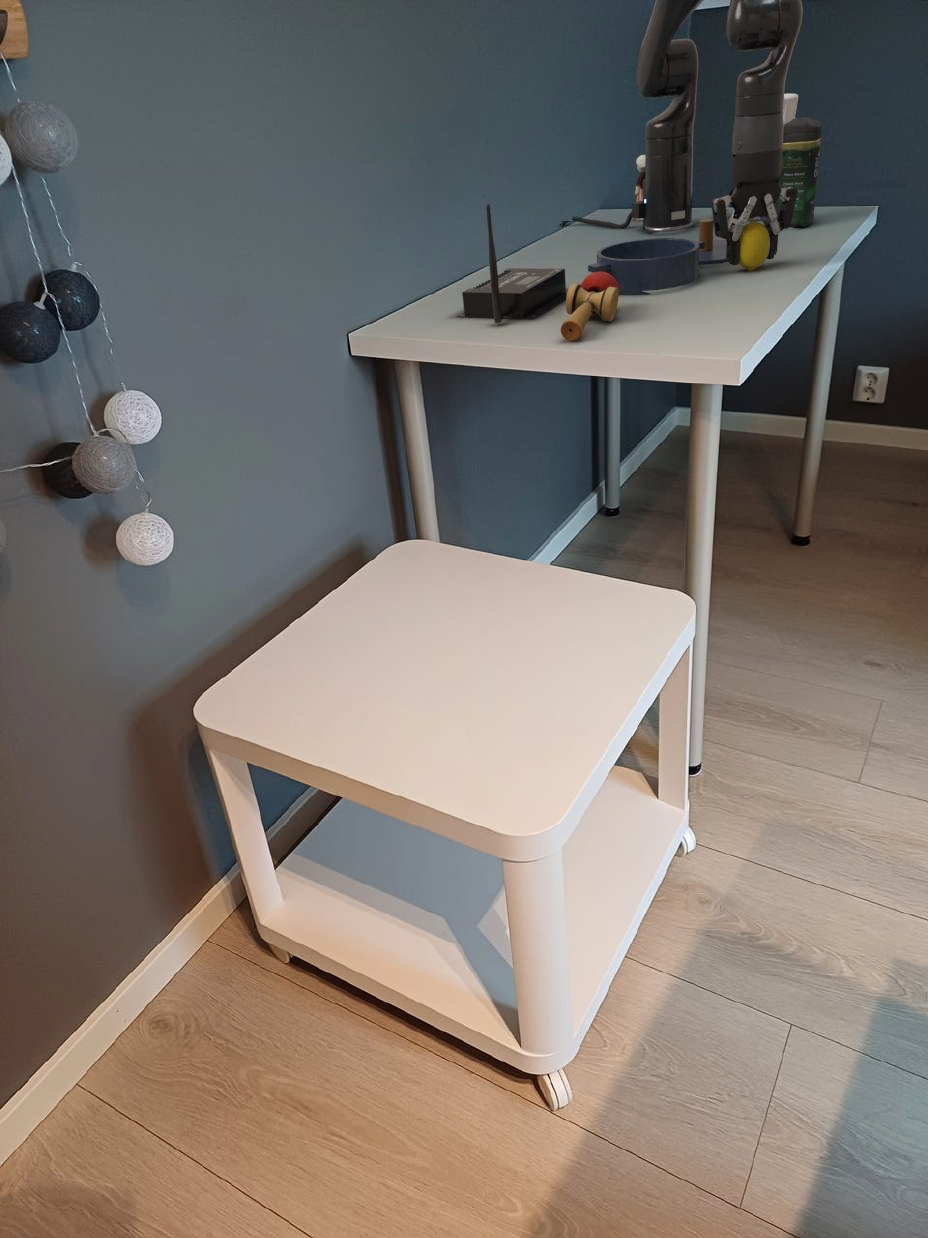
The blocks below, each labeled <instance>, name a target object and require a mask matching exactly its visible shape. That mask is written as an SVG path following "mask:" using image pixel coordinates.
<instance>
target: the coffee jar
mask: <svg viewBox="0 0 928 1238" xmlns="http://www.w3.org/2000/svg"><path fill="white" fill-rule="evenodd" d="M822 126H823V124H822V123H821V121H819V120H817V119H815V117H811V116H810V117H809V116H808V117H807V116H806V117H805V116H803V117H795V119H792V120H791V121H790V122H788V123H786V124H784V133H783V148H782V164H781V176H780V178H779V183H780V186H781V188H785V187H792V188H796V189H797V190H798V193H797V198H796V203H795V207H794V212H793V216H792V221H791V225H790V227H789V228H791V229H795V228H797V227H806V226H809V225H810V224H811V223H812V222H813V220H814V218H815V217H814V216H815V206H816V197H817V196H816V194H817V185H818V174H819V166H820V165H819V164H820V154H821V153H820V152H821V144H822V143H821V142H822ZM779 197H780V196H779ZM779 197H778V199H777V200H776V202H775V204H774V207H775V210H776V214H777V217H778V212H779V207H780V203H781V201H780V199H779Z"/></svg>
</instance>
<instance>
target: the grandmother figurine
mask: <svg viewBox="0 0 928 1238" xmlns="http://www.w3.org/2000/svg"><path fill="white" fill-rule="evenodd" d="M635 162H636V166H637V168H636V169H637V171H638V172H639V173H640V174H639V176H637V180H636V183H635V191H634V195H635V196H636V201H635V202H639V201H643V180H644V179H645V154H641V155H639V156H638V157H637V158H636V161H635ZM635 219H636V221H643V218H640V219H637V218H635Z"/></svg>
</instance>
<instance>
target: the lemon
mask: <svg viewBox="0 0 928 1238" xmlns="http://www.w3.org/2000/svg"><path fill="white" fill-rule="evenodd" d="M738 241H740V252H739V264H738V265H739V266H741V267H742V268H745V269H746V270H747V271H750V272H751V271H755V270H756V268H758V267H760V266H762V265H763V264H764V263H765V261H766V260H767V259H766V258H767V256H768V254H769V250H770V237H769V233H768V230H767V229H766V228H765V226H764V224H763V223H761V222H758V220H749V222H747V223H746V226H745V227H743V229H742V232H741V234H740V237H739V239H738Z"/></svg>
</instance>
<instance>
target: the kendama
mask: <svg viewBox="0 0 928 1238" xmlns="http://www.w3.org/2000/svg"><path fill="white" fill-rule="evenodd" d="M619 295H620V294H619V286H618V283H617V281H616V280H615V278H614V277H613V276H612V275H610V274H609V273H606V272H601V271H600V272H594V273H593V272H590V273H589V274H588V275H586V277H584V279H583V280H582V281H581V283H571V284H570V285H569V287H568V291H567V295H566V296H567V298H566V300H565V311H566V313H567V315H569V316H568V318H566V320H565V321H563V322H562V324H561V326H560V334H561V337H562V338H563V339H564V340H565V341H568V342H575V341H577V340H578V339H580V338H581V335H582V333H583V330H584V329H585V327H586V325H587V323H588V321H589V318H590V316H591V314H593V315H595V314H597V315H599V317H600V318H601V319H602V321H605V322H612V321H613V320H614V318H615V316H616V313H617V310H618V305H619Z"/></svg>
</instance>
